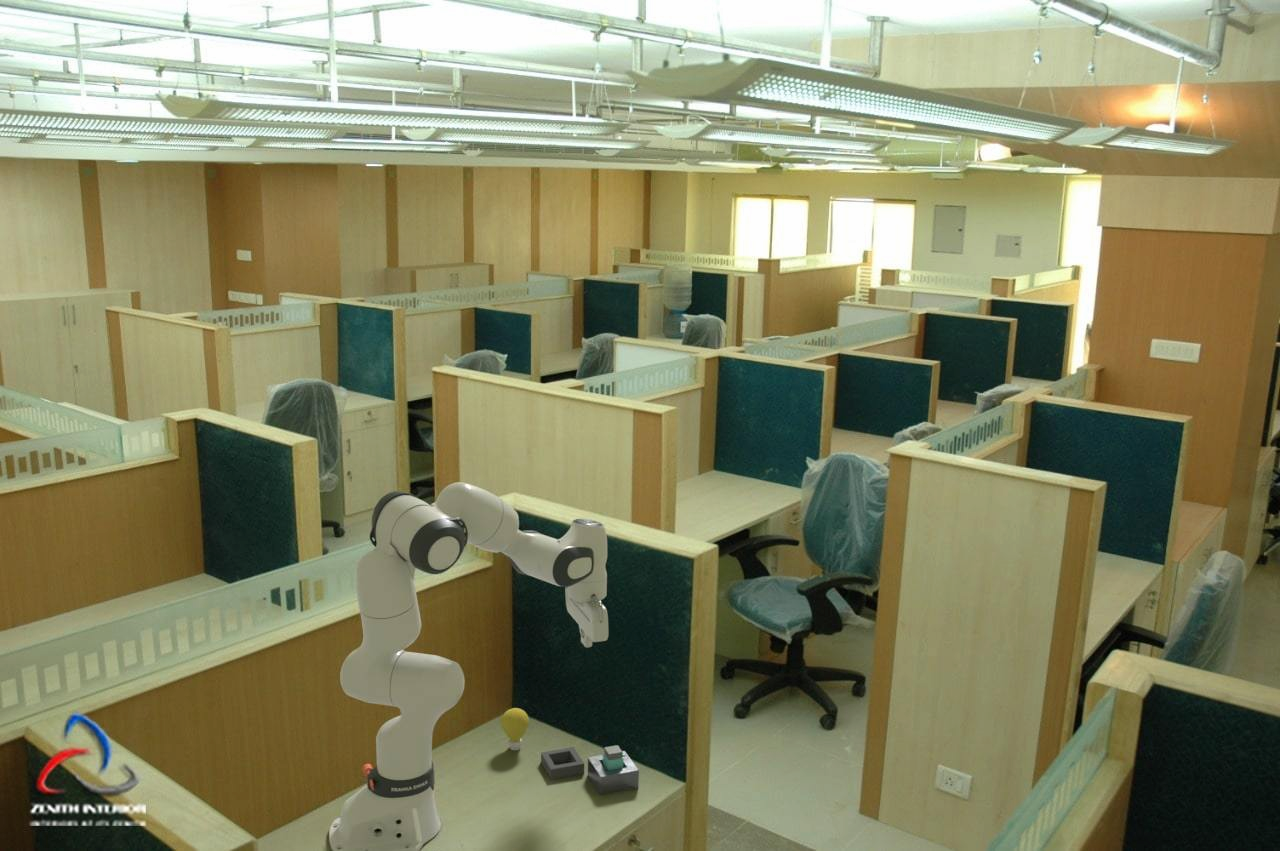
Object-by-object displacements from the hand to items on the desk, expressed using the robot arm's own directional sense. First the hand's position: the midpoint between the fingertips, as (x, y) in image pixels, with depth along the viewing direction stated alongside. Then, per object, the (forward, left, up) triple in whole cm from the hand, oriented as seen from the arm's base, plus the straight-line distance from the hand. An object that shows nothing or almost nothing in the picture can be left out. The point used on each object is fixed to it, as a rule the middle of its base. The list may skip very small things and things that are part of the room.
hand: (586, 644), depth 243 cm
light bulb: (-14, +11, -29) cm, 34 cm away
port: (+3, -11, -29) cm, 31 cm away
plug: (+3, -11, -29) cm, 31 cm away
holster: (-6, -2, -29) cm, 30 cm away
